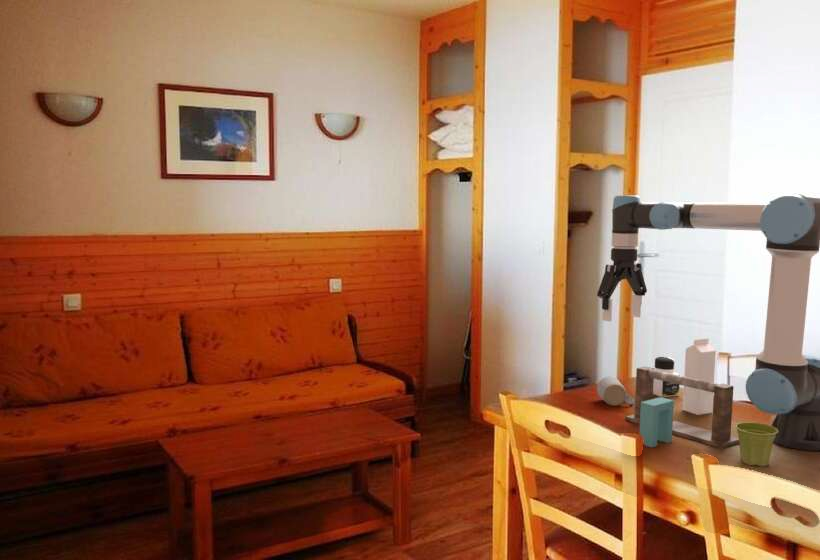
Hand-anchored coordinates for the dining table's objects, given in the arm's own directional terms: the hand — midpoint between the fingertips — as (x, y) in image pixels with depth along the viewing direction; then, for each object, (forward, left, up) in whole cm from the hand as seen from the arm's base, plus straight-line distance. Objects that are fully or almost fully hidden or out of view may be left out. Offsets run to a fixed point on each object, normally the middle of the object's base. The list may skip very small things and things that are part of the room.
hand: (621, 318), depth 224 cm
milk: (-16, -17, -28) cm, 36 cm away
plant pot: (-49, +11, -28) cm, 57 cm away
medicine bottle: (+2, -26, -28) cm, 38 cm away
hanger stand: (-24, +4, -27) cm, 36 cm away
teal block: (-26, +18, -28) cm, 42 cm away
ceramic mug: (+4, -4, -28) cm, 28 cm away
